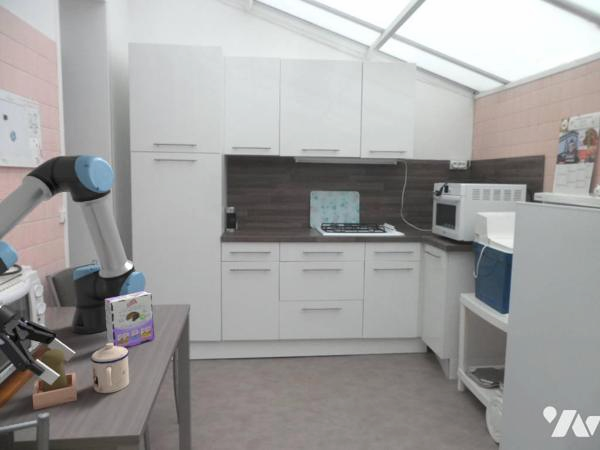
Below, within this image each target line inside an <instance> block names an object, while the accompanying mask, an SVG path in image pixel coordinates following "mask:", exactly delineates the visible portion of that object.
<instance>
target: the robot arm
mask: <svg viewBox="0 0 600 450" xmlns="http://www.w3.org/2000/svg"><path fill="white" fill-rule="evenodd" d="M112 168H113V167H111V165H110V163H109V162H108V161H107V160H106V159H104V158H103V157H102V156H98V155H91V154H81V155H78V154H77V155H59V156H55V157H52V158H50V159H48V160H45V161H44V162H42V163H41V164H39V165H38V166H36V167H35V168H34V169H33V170H31V171H30V172H29V173H28V174H26V175H25V176H23V178H22V181H21V183H22V184H20V185H19V186H18V187H17V188H16V189H14V190H13V191H12V192H11V193H10V194H8V196H6V197H5V198H4V199H3V200H2V201H1V202H0V277H1V276H2V275H3V274H5V273H6V272H7V271H10V269H11V268H12V267H13V266H15V264H17V262H18V261H19V255H18V252H17V250H16V249H15V248H14V247H13V245H11V244H10V243H8V242H6V241H3V239H4V238H6V237H7V235H9V233H10V232H11V231H13V230H14V229H15V227H16V226H18V225H19V224H20V223H21V222H22V221H23V220H25V218H26V217H27V216H29V215H30V214H31V213H32V212H33V211H35V209H36V208H37V207H38V206H40V205H41V204H42V202H44V201H45V202H47V201H49V200H51V199H52V198H53V197H54V196H56V195H57V194H58V195H59V194H61V193H70V195H71V199H72V201H73V203H75V204H77V205H79V206H80V209H81V212H82V215H83V217H84V220H85V224H86V226H87V229H88V232H89V235H90V238H91V241H92V243H93V247H94V250H95V252H96V255H97V258H98V261H99V264H91V265H87V266H82V267H78V268H77V269H75V270H74V271H73V273H72V275H73V277H72V279H73V280H72V282H73V293H74V305H75V307H74V308H75V309H74V313H73V317H72V321H71V331H72V332H73V333H75V334H82V335H84V334H96V333H100V332H105V331H107V327H106V312H105V299H108V298H113V297H118V296H123V295H127V294H132V293H137V292H142V291H145V289H146V276H145V274H144V273H143V272H141V271H139V270H136V269H135V265H134V262H133V261H131V260H129V259H128V257H127V255H126V252H125V249H124V248H125V247H124V245H123V242H122V240H121V239H122V238H121V237H120V233H119V229H118V226H117V223H116V220H115V217H114V214H113V211H112V208H111V204H110V201H109V197H110V195H111V193H112V190H111V189H112V188H113V185H114V181H115V174H114V170H113V169H112ZM17 315H18V313H17V312H16V310H15V309H13V308H12V307H10V306H9V305H7V304H3V301H2V300H1V299H0V350H1V351H2V353H3V354H4V355H5V357H6V358H7V359H8V360H9V362H10V363H11V364H12V366H14V367H15V369H16V370H17V371H18V372H21V373H24V372H26V371H27V370H29V371H30V372H31V373H33V374H34V375H35V376H37V377H38V378H39V379H43V380H44V381H46V382H47V383H48V384H50V385H51V384H52V383H53V382H54V381H55V380H56V379H57V378H58V377H59V376H60V375H59V374H58V373H56V372H55V371H53V370H52V369H51V368H49V367H48V366H46V365H45V364H44V363H42V362H41V360H39V359H38V358H37V359H36V360H35V359H34V357H33V356H32V353H31V352H30V350H29V348H28V346H27V345H26V342H25V341H26V340H28V341H29V340H30V341H33V342H37V343H41V344H43V345H44V344H45V345H47V348H49V350H55V349H59V350H62V351H63V352H64V355H65V359H64V361H67V362H69V360H70V359H72V357H74V355H75V354H76V351H74V350H73V349H72V348H70V347H69V346H67V345H66V344H64V343H63V342H61V341H60V340H59V339H58V338H57V337H58V333H57V332H56V331H54V330H52V329H50V328H48V327H46V326H43V325H41V324H39V323H37V322H34V321H32V320H30V319H28V318H27V317H25V315H24V316H23V315H22V316H20V318H19V319H18V320H17V319H16V316H17Z"/></svg>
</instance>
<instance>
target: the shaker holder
mask: <svg viewBox="0 0 600 450" xmlns="http://www.w3.org/2000/svg"><path fill="white" fill-rule="evenodd" d="M65 375H66V379H67V383H68V387H67V388H62V389H57V390H53V391H48V392H43V393H42V389H43V379H41V378H39V379H36V380H34V385H33V392H32V404H33V411H35V410H39V409H40V410H41V409H43V408H49V407H53V406H57V405H61V404H65V403H71V402H74V401H78V400H77V399H78V397H77V396H78V395H77V393H78V392H77V378H76V377H77V376H76V372H71V373H65Z"/></svg>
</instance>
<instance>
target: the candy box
mask: <svg viewBox="0 0 600 450" xmlns="http://www.w3.org/2000/svg"><path fill="white" fill-rule="evenodd" d="M105 312H106V327H107V330H106V337H107V339H106V340H107V341H106V342H107V343H113V344H114V346H118V347H124V348H126V349H128V348H130V347H134V346H137V345H140V344H143V343H146V342H150V341H153V340H155V326H154V325H155V324H154V312H153V295H152V293H150V292H148V291H146V290H144V291H142V292H137V293H132V294H127V295H123V296H118V297H113V298H108V299H105ZM107 343H106V344H107Z"/></svg>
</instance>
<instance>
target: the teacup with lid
mask: <svg viewBox="0 0 600 450" xmlns="http://www.w3.org/2000/svg"><path fill="white" fill-rule="evenodd" d="M90 360H91V363H92V378H93V389H94V391H95V392H97V393H99V394H112V393H116V392H118V391H121V390H123V389H125V388H126V387H127V386H128V385H129V384H130V372H129V371H130V370H129V351H128V348H124V347H118V346H114V344H113V343H106V344H105V346H104V347H102V348H100V349H98V350H96V351H95V352H94V353H93V354H92V355H91V358H90Z"/></svg>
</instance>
